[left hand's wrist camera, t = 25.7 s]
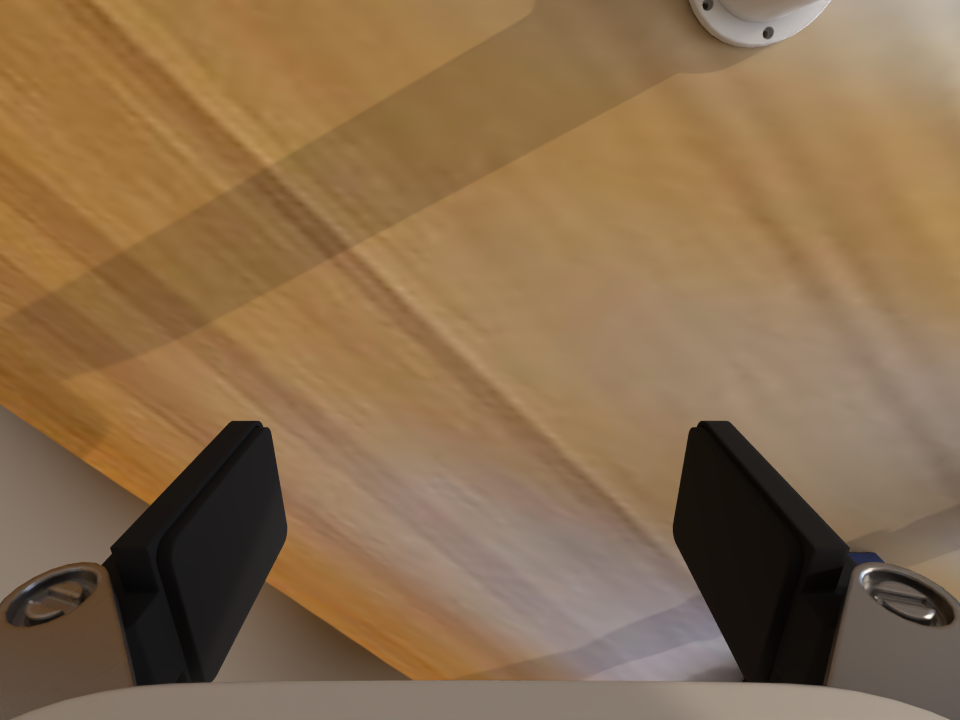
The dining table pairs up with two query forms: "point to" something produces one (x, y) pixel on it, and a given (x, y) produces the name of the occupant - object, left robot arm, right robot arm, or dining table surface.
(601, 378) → the dining table surface
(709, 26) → the left robot arm
